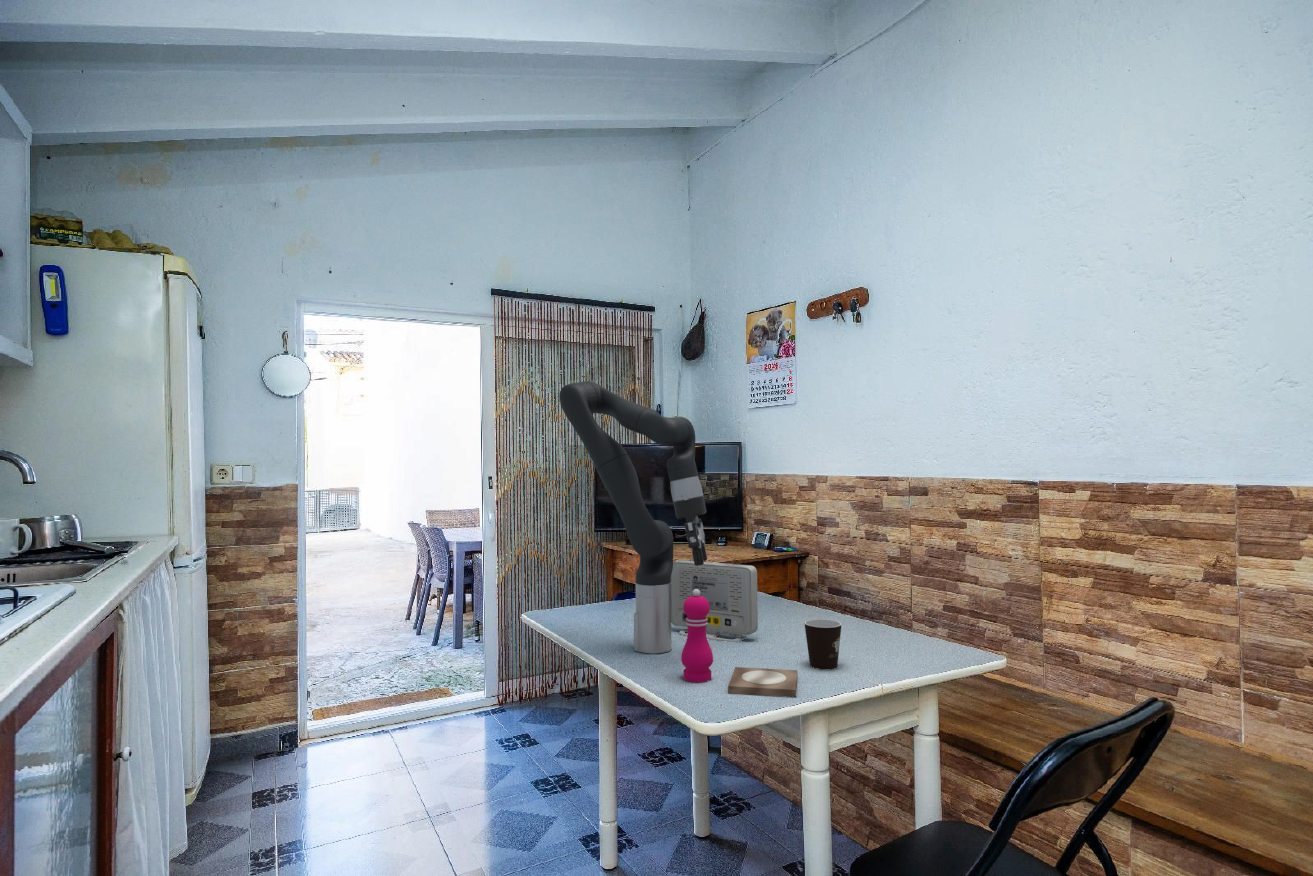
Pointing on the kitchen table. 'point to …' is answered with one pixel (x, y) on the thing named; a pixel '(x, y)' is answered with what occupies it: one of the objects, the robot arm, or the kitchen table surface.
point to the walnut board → (763, 682)
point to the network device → (717, 597)
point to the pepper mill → (697, 640)
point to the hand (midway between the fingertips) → (701, 563)
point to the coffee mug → (823, 642)
